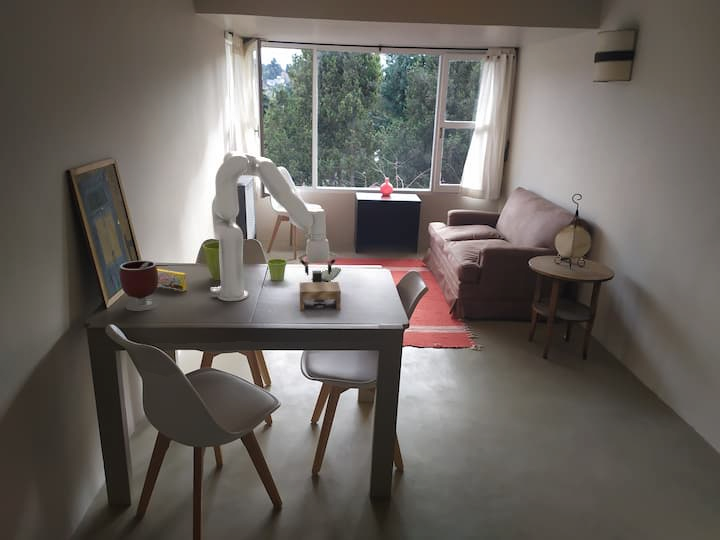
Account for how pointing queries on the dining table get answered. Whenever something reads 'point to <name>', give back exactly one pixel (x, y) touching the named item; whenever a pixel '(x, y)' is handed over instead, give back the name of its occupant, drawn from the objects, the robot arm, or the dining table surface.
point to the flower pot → (212, 258)
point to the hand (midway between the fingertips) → (318, 274)
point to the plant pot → (277, 268)
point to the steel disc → (319, 304)
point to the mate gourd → (139, 280)
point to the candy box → (171, 279)
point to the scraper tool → (317, 278)
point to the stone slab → (332, 274)
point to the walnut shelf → (320, 292)
